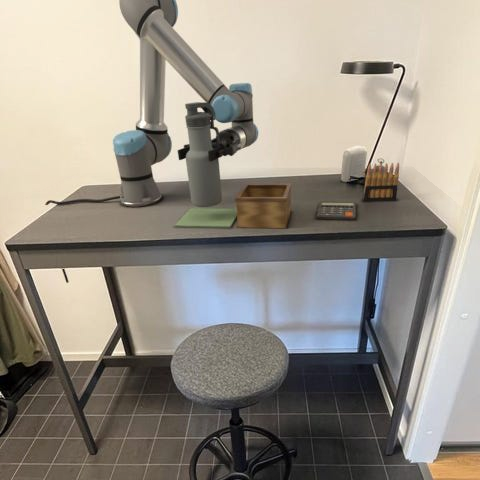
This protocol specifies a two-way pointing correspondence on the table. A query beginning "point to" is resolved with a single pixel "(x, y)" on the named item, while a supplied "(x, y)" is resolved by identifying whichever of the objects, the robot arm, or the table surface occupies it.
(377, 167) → the pocket watch
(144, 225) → the table surface
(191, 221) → the desk mat
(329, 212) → the calculator
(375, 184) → the ammunition clip
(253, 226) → the wooden box
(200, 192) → the water bottle
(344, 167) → the photo printer
